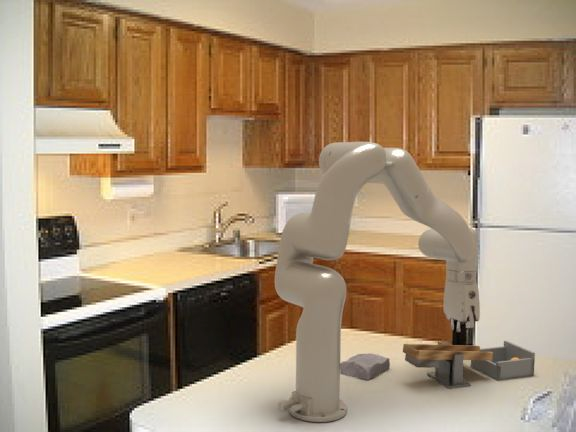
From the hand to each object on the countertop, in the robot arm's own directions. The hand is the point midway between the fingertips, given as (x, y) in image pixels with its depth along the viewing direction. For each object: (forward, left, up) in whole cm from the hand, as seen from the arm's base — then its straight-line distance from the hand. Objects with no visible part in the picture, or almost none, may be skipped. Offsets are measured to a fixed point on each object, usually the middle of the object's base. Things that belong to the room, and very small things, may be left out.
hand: (459, 345), depth 164 cm
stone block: (-21, +14, -7) cm, 26 cm away
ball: (+10, -10, -4) cm, 15 cm away
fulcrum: (-9, -4, -6) cm, 12 cm away
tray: (+7, -8, -6) cm, 13 cm away
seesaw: (-8, 0, -2) cm, 9 cm away
